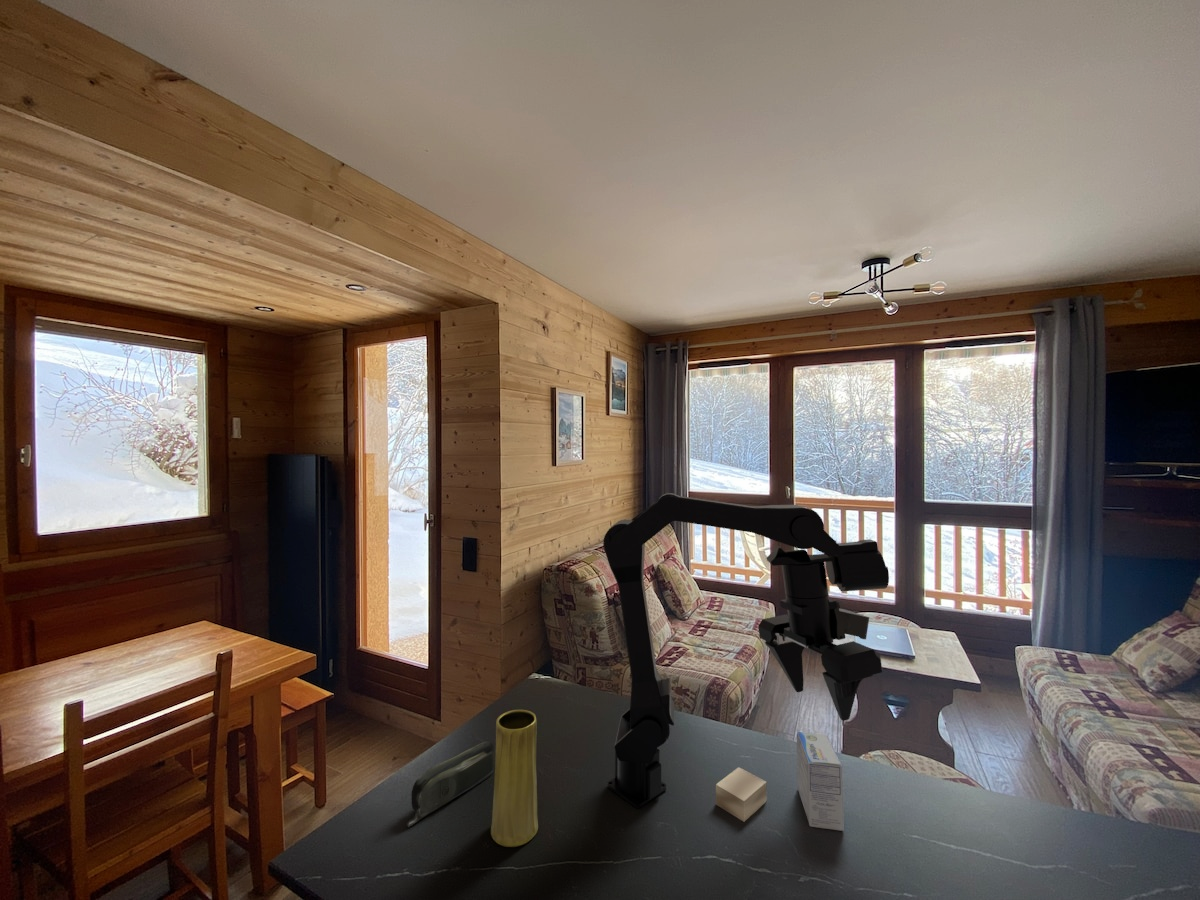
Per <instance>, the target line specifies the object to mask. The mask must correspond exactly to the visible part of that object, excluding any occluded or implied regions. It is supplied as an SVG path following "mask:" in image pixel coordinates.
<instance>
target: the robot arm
mask: <svg viewBox="0 0 1200 900" xmlns="http://www.w3.org/2000/svg"><path fill="white" fill-rule="evenodd" d="M673 522H682V523H687V524H693V525H694V524H695V525H701V526H708V527H712V528H720V529H728V530H734V531H739V532H746V533H752V534H755V535H759V536H761V537H764V538H766V539H769V540H771V541H772V540H773V541H775V542H778V543H781V544H784V545H786V546H790V547H793V548H795V549H794V550H784V549H783V548H782V547H780V546H779V545H776V546H775V547H774V549H773V551H772V552H771V553H769V555H768V556H767V557H766V562H768V563H769V564H770V565H771V566H773V567H774V566H775V567H776V566H781V570H782V576H783V577H782V578H783V584H784V585H783V586H784V593H785V599H780V600H779V602H780V608H782V609H785V610H787V613H786V614H781V615H777V616H772V617H767V618H766V617H765V618H762V619H761V621H760V622H759V624H758V626H757V627H758V634H759V638H760V639H761V640H763V641H764V644H765V646H767V648H768V649H769V651H770V652H771V653H772V654H773V656H774V658H775V660H776V661H777V663H778V664H779V666H780V667H781V670H782V671H783V673H784V674H785V676H786V678H787V679H788V680H789V682H790V684H791V686H792V688H793V689H794V691H795V692H796V693H800V692H803V691H804V669H803V668H804V665H803V664H804V663H803V652H804V650H805V649H809V650H812V651H814V652H816V653H817V654H820V655H821V656H820V658H821V665H822V667H823V668H824V670H825V671H824V672H822V676H823V679H824V681H825V684H826V687H827V688H828V689H827V690H828V692H829V694H830V695H829V696H830V697H831V699H832V702H833V705H834V707H835V710H836V712H837V715H838V716H839V719H840V720H841V721H843V722H845V721H848V720H849V719H850V718H851V713H852V709H853V706H854V703H855V698H856V695H857V692H858V688H859V686H860V684H861V682H863V680H864V679H866V678H870V677H873V676H875V675H877V674H882V673H883V666H882V659H881V654H879V652H877V651H876V650H875V649H874V648H871V647H869V646H866V645H863V644H861V643H860V642H856V641H852V640H851V641H849V642H843V643H840V644H835V643H834V640H837V641H840V640H843V639H846V635H848V636H854V637H858V638H859V639H862V640H867V634H868V629H869V622H870V621H869V620H870V616H867V615H864V614H860V613H858V612H855V611H851V610H848V609H844V608H841V605H840V602H839V601H838V600H835V599H832V598H830V596H829V595H830V594H829V589H828V588H829V587H828V582H829V584H830V585H832V586H834V585H835V586H837V589H839V591H840V592H856V591H858V592H859V591H868V590H869V591H870V590H871V591H872V590H873V591H874V590H884V589H887V588H888V586H889V582H890V576H889V575H890V574H889V568H888V566H886V563H885V560H884V557H883V554H882V553H881V551H880V550H879V547H878V542H877V541H876V540H872V539H861V540H858V541H850V542H848V541H847V542H837V540H835V539H834V538H833V537H831V536H830V534H828V532H827V531H825V523H824V521H823V519H822V517H821V516H820V515H819V513H818V512H816V511H815V510H813V509H811V508H807V507H804V506H801V505H798V504H770V505H769V504H768V505H757V506H756V505H744V504H738V503H731V502H723V501H718V500H710V499H703V498H697V497H689V496H682V495H678V494H675V493H671V492H667V493H664V494H662V495H661V496H660V497H659V498H658V499H657V500H656V501H655V502H653V503H651V505H649V506H648V507H646V508H645V509H644V510H643V511H641V512H639V513H638V514H637V515H636V516H634V517H633V518H632V519H624V518H623V519H621V520H618V521H617V522H615V523H614V524H613V525H612V526H611V527H609V529H608V530H607V532H606V533H605V534H604V536H603V540H602V541H603V550H604V553H605V556H606V559H607V562H608V566H609V568H610V570H611V573H612V575H613V577H614V580H615V582H616V584H617V586H618V593H619V601H620V606H621V607H620V608H621V614H622V621H623V622H622V623H623V629H624V635H625V643H626V649H627V656H628V663H629V669H630V675H631V677H630V678H631V690H630V701H629V702H630V704H629V706H630V707H629V708H628V709H627V710H626V711H625V712H624V713H623V714H621V716H620V720H619V723H618V729H617V734H616V738H615V741H614V777H613V778H611V779H610V780H608V781H607V782H606V784H607V785H606V787H607V788H608V789H610V790H611V791H613V792H614V793H616V794H617V795H618V796H619V797H621V798H622V799H623V800H625V801H626V802H627V803H629V804H631V805H632V806H633V807H635V808H636V809H637V808H641V807H643V806H644V805H645V804H647V803H649V801H651V800H654V798H655V797H657V796H658V795H660V794H662V793H663V792H665V791H666V790H667V784H666V783H665V782H664V781H662V763H661V761H660V757H661V756H660V755H661V754H660V753H661V752H660V750H661V749H659V747H661V746H662V745H664V744H665V743H666V741H668V739H669V738H670V731H671V729H670V728H671V727H672V726H673V727H674V725H675V701H674V699H673V698H672V695H671V678H669V677H668V678H663V679H662V678H661V676H660V674H659V671H658V667H657V662H656V656H655V649H654V641H653V637H652V630H651V629H652V628H651V622H650V616H649V608H648V601H647V595H646V588H645V581H644V580H645V579H644V574H645V573H644V572H645V547H646V546H645V545H646V543H647V542H648V541H650V540H651V539H653V537H655V536H657V534H658V533H660V532H661V531H662V530H663V529H664V528H666V527H667V526H668V525H670V524H671V523H673ZM812 548H813V549H815V550H817V551H819V552H820V553H822V554H820V553H817V554H809V553H808V551H807V550H809V549H812ZM827 578H828V581H827Z"/></svg>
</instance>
